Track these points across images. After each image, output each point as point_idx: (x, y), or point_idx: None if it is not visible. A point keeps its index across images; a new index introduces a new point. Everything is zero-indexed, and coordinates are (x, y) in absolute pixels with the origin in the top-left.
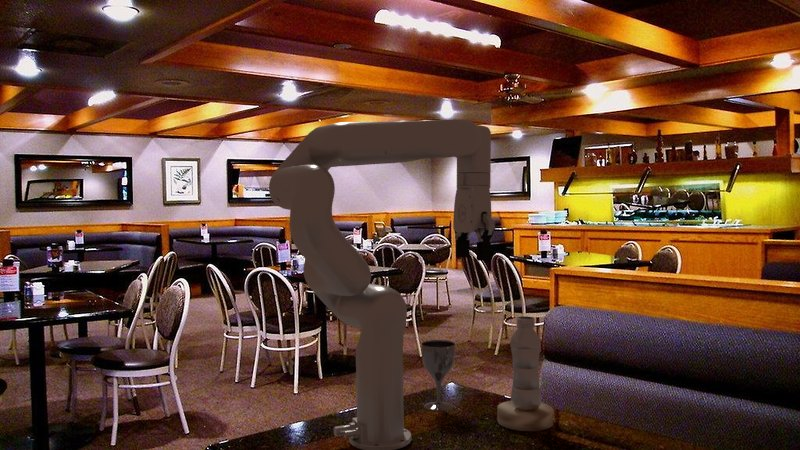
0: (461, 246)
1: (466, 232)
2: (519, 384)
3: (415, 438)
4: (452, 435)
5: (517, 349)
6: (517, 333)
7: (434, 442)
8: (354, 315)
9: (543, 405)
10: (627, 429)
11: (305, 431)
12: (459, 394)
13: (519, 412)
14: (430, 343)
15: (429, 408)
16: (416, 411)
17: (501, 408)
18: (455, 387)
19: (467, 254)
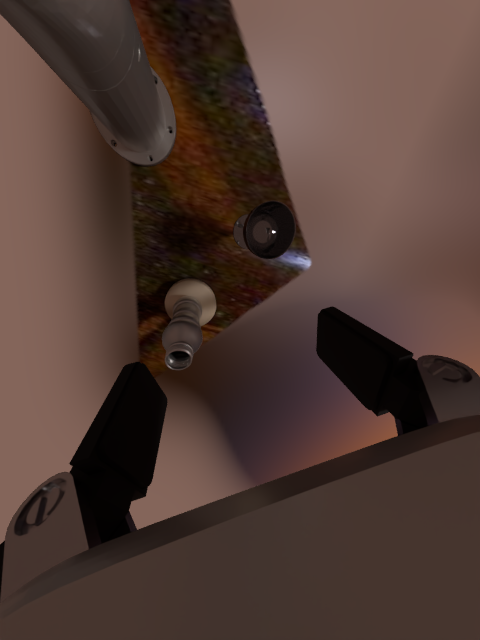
0: (352, 353)
1: (184, 514)
2: (176, 308)
3: (146, 173)
4: (156, 222)
5: (170, 323)
6: (174, 335)
7: (134, 194)
8: None
9: None
10: None
11: None
12: (279, 264)
13: (178, 297)
14: (293, 225)
15: (242, 219)
16: (238, 201)
17: (192, 285)
18: (301, 266)
19: (322, 353)
